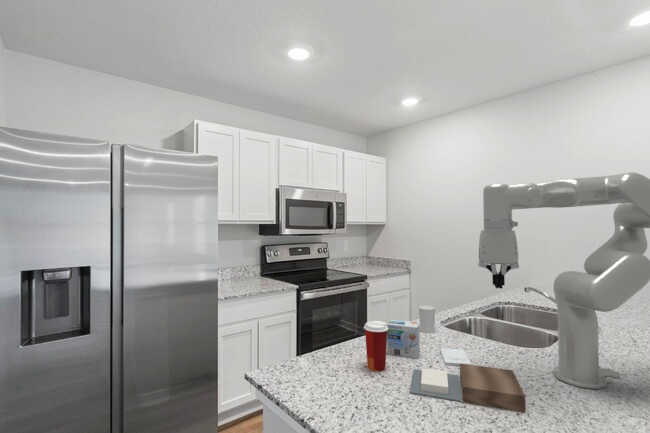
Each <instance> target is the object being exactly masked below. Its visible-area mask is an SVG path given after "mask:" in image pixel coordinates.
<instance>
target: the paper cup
mask: <svg viewBox="0 0 650 433" xmlns="http://www.w3.org/2000/svg"><path fill="white" fill-rule="evenodd" d="M387 324H388V323H387V322H384V321H380V320H370V321H367V322H366V323H365V324H364V326H363V329H364V330H365V347H366V349H365V350H366V364H367V369H368V370H369V371H372V372H374V373H375V372H376V373H377V372H379V373H380V372H381V373H382V372H384V371H385V370H386V362H387V330H388V327H387Z"/></svg>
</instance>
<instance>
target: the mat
mask: <svg viewBox="0 0 650 433" xmlns="http://www.w3.org/2000/svg"><path fill="white" fill-rule="evenodd" d="M421 377H422V369H416V368H414V369H413V372H412V376H411V381H410V382H411V383H410V387H409V394H410V395H416V396H421V397H428V398H434V399H439V400H447V401H452V402H457V403H462V394H461V389H460V386H461V385H460V380H459V378H460V376H459V375H458V374H451V373H447V379H448V395H446V394H440V393H433V392H426V391H421Z"/></svg>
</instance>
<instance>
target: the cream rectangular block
mask: <svg viewBox="0 0 650 433" xmlns="http://www.w3.org/2000/svg"><path fill="white" fill-rule="evenodd" d="M421 370H422V377H421V391H426V392H433V393H440V394H446V395H448V379H447V374H448V372H447V371H446V370H439V369H434V368H433V369H432V368H425V367H423V368H421Z"/></svg>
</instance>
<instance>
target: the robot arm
mask: <svg viewBox="0 0 650 433" xmlns="http://www.w3.org/2000/svg"><path fill="white" fill-rule="evenodd" d="M482 194H483V196H482V197H483V198H482V199H483V200H482V202H483V230H480V233H479V242H478V259H479V261H478V267H479V268H484V269H487V270H488V272H490V273H491V274H492V276H491V277H492V285H493V286H494V287H495V289H503V286H505V275H506V274H507V273H508V272H509V271H511V270H515V269H519V268H520V265H519V250H518V249H519V248H518V242H517V241H518V240H517V235H516V231H515V230H513V229H514V228H515V227H519V223H518V221H514V220H513V211H515V210H527V209H537V208H538V209H539V208H542V209H543V208H555V209H556V208H558V209H560V208H574V207H575V208H576V207H587V206H589V207H590V206H601V205H602V206H603V205H605V206H606V205H616V204H618V205H617V206H616V207H615V209H614V211H613V214H612V215H613V223H614V232H613V234H612V236H611V237H610V238H609V239H608V240H607V241H605V243H603V244H602V245H600V246H599V247H598V248H597V249H596V250H594V251H593V252H592V253H591V254H589V256H588V257H587V258H586V259H585V261H584V263H583V268H584V271H585V272H582V271H577V270H576V271H575V270H569V271H568V270H567V271H564V272H561V273H560V274H558V275H557V276H555V279H554V281H553V293H554V297H555V301H556V307H557V337H558V338H557V341H558V342H557V344H558V346H557V347H558V349H557V351H558V365H557V366H555V367H553V368H552V374H553V376H554V377H555V378H556V379H558V380H559V381H562V382H564V383H565V384H569V385H572V386H574V387H579V388H583V389H592V390H593V389H595V390H596V389H597V390H598V389H604V388H605V387H607V380H606V379H609V378H611V379H615V380H621V379H622V376H621V372H620V371H614V370H613V371H612V370H611V368H606V367H601V366H600V363H599V362H600V360H599V356H600V355H599V354H600V352H599V318H598V315H597V313H596V312H600V313H607V312H612V311H615V310H617V309H618V308H619V307H621V306H622V305H624V304H625V303H626V302H627V301H628V300H630V299H631V298H632V297H633V296H635V295H636V294H637V293H639V292H640V291H641V290H642V289H643V288H644V287H645V286H646V285H647V284H648V283H649V282H650V259H649V258H648V257H647V256H645V255H644V254H645V253H646V251H647V250H648V241H647V240H648V239H647V236H646V231H645V229H650V178H649V177H647V176H645V175H643V174H641V173H638V172H631V171H630V172H624V173H619V174H618V173H617V174H611V175H604V176H603V175H602V176H593V177H578V178H577V177H574V178H565V179H558V180H554V181H550V182H546V183H545V182H543V183H537V184H536V183H534V182H523V183H516V184H506V183H493V184H489V185H485V186H484V188H483V191H482ZM496 265H500V267H499V272H498V271H497V266H496Z"/></svg>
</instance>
